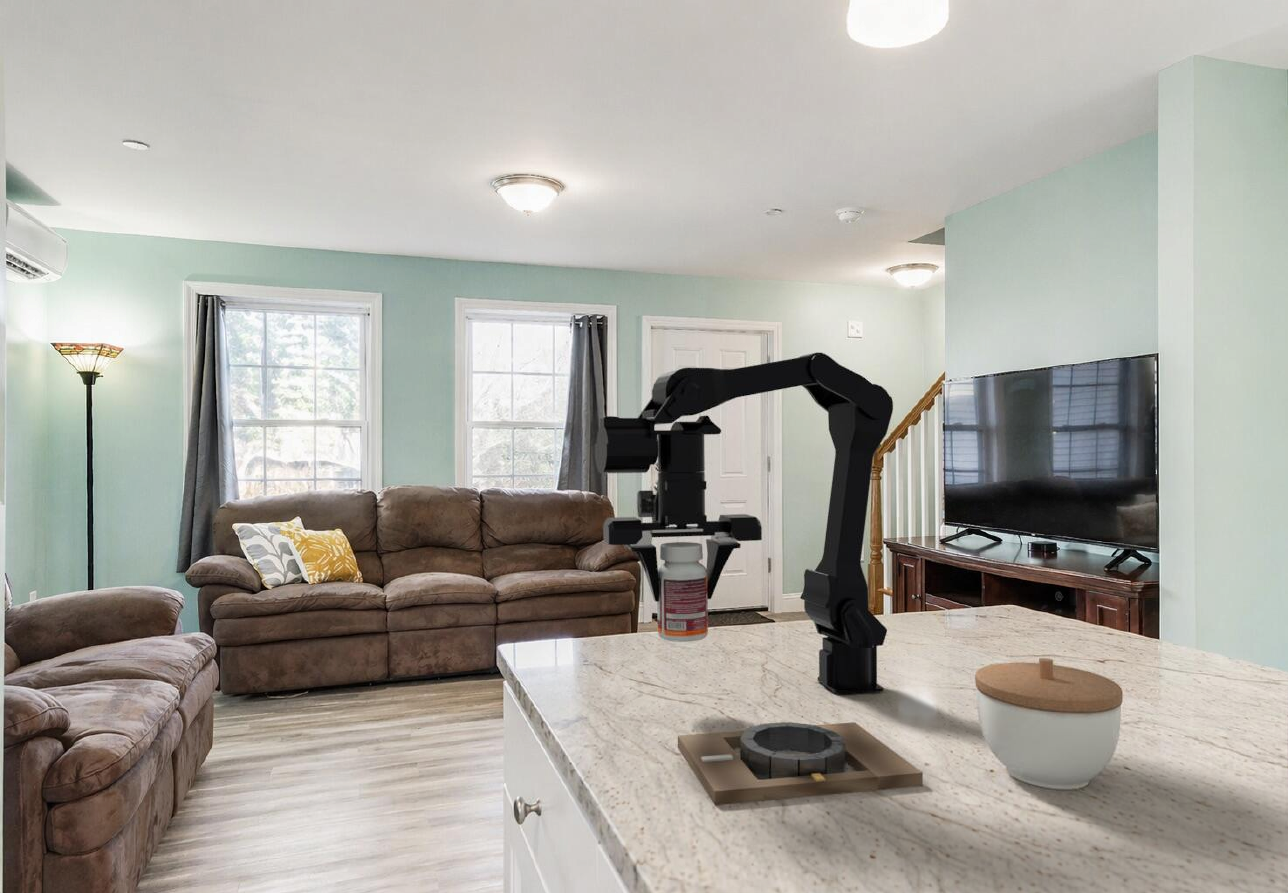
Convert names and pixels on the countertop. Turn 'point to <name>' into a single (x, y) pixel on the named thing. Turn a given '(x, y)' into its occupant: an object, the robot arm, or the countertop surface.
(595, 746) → the countertop surface
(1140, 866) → the countertop surface
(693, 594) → the pill bottle
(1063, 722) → the lidded bowl
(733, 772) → the socket board
